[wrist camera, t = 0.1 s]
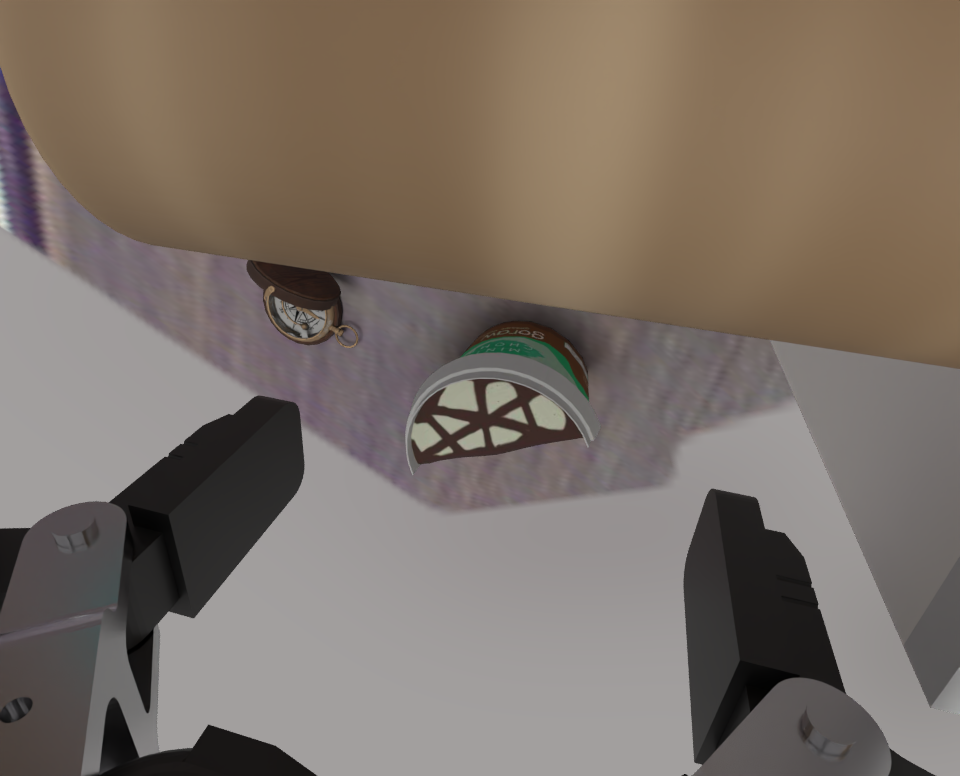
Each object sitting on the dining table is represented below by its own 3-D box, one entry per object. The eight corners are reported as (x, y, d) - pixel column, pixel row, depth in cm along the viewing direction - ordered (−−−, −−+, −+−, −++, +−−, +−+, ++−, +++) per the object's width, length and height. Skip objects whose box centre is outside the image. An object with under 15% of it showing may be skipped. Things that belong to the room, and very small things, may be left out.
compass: (259, 314, 47) (199, 352, 41) (291, 228, 43) (230, 256, 36) (347, 368, 47) (301, 415, 41) (387, 288, 43) (342, 327, 37)
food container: (585, 284, 39) (568, 346, 31) (608, 367, 42) (598, 445, 33) (420, 327, 44) (365, 391, 35) (449, 399, 46) (404, 476, 38)
